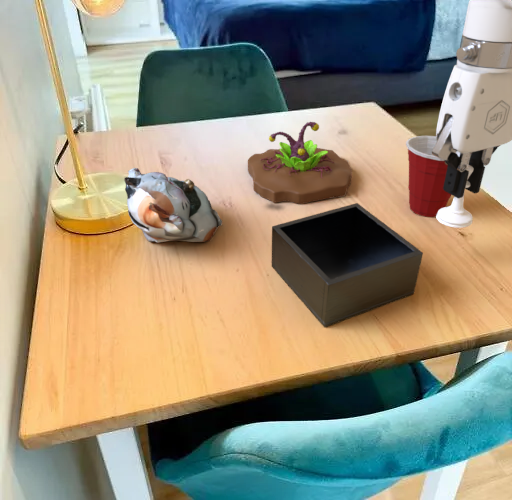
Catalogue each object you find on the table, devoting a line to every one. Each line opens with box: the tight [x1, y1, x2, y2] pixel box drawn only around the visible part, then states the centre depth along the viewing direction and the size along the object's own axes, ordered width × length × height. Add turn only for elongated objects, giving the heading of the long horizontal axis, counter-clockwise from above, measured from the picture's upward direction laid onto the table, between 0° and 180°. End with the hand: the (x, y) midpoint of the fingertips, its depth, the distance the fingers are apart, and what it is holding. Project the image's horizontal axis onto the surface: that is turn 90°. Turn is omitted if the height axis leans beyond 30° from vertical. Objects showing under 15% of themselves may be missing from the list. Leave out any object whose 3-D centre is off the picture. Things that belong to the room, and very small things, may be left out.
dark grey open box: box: [271, 202, 424, 328], centre depth 71 cm, size 15×15×7 cm
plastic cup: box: [405, 135, 460, 218], centre depth 86 cm, size 11×11×12 cm
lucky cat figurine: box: [123, 167, 223, 244], centre depth 79 cm, size 15×12×14 cm
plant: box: [247, 121, 353, 204], centre depth 95 cm, size 20×20×11 cm
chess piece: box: [435, 154, 474, 229], centre depth 70 cm, size 5×5×10 cm
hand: (460, 190), depth 70 cm, fingers closed on chess piece
